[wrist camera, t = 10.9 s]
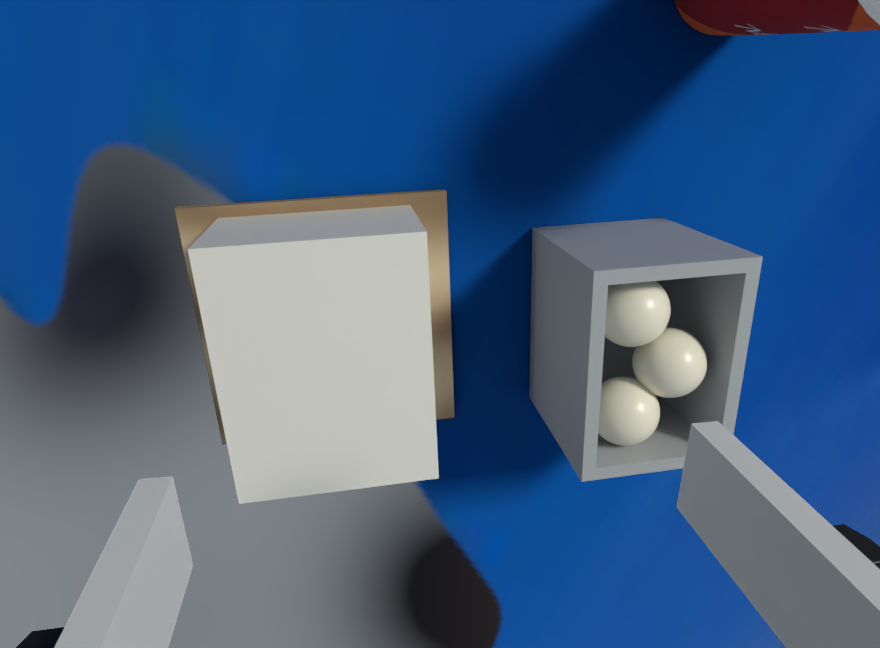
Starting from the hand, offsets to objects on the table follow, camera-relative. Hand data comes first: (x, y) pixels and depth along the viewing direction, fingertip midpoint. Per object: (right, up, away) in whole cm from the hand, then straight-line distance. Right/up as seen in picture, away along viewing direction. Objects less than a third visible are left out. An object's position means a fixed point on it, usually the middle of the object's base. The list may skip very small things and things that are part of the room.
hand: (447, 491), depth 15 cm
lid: (-6, +4, +19) cm, 20 cm away
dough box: (+9, +5, +21) cm, 24 cm away
